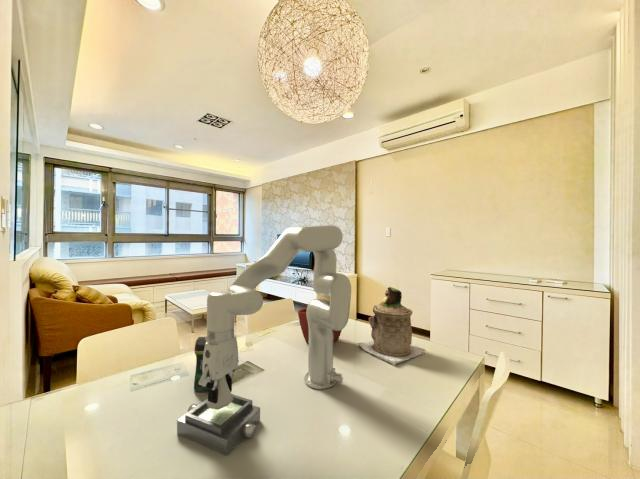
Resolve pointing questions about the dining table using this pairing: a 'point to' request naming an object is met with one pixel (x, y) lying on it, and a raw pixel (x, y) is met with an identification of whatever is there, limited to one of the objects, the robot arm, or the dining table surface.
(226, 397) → the flask
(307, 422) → the dining table surface
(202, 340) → the coffee jar
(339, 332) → the plant pot
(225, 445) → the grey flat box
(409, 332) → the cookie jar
